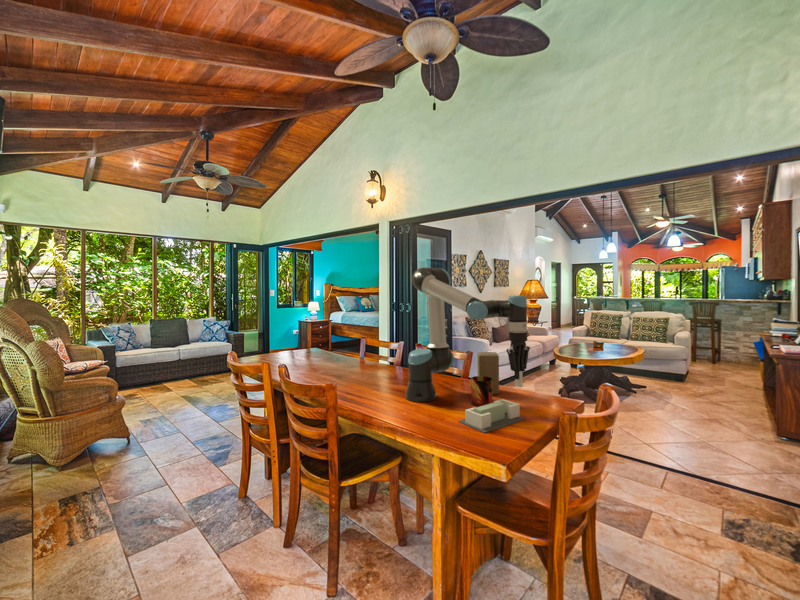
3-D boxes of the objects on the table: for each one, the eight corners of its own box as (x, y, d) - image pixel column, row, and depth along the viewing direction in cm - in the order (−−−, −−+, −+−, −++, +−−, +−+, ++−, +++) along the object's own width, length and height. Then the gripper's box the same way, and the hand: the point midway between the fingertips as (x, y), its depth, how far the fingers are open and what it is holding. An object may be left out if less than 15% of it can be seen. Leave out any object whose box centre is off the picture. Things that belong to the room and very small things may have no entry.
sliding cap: (493, 413, 152) (493, 401, 152) (503, 410, 155) (503, 398, 155) (510, 419, 145) (510, 407, 144) (520, 415, 148) (520, 404, 148)
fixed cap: (465, 422, 143) (465, 409, 142) (474, 419, 145) (474, 407, 145) (481, 429, 135) (481, 416, 135) (491, 426, 138) (491, 413, 138)
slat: (474, 423, 141) (473, 408, 141) (497, 415, 149) (497, 401, 149) (480, 425, 138) (480, 410, 138) (504, 418, 146) (504, 403, 146)
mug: (490, 411, 156) (490, 384, 155) (466, 403, 167) (466, 378, 166) (504, 406, 162) (504, 380, 161) (480, 399, 173) (479, 375, 172)
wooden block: (477, 388, 191) (477, 351, 190) (496, 389, 190) (496, 351, 189) (479, 394, 181) (478, 355, 180) (499, 394, 180) (499, 355, 179)
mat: (458, 421, 144) (458, 420, 144) (498, 410, 157) (498, 409, 157) (484, 433, 132) (484, 432, 132) (525, 419, 146) (525, 418, 146)
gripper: (515, 333, 146) (516, 390, 147) (535, 331, 153) (535, 385, 154) (500, 332, 152) (501, 387, 153) (520, 329, 160) (521, 382, 160)
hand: (518, 386), depth 153 cm, fingers closed
